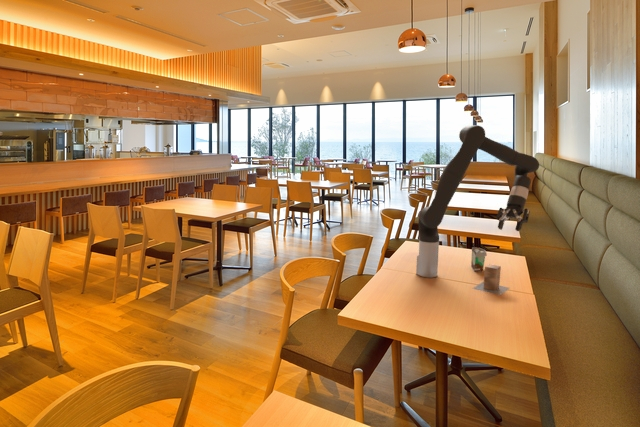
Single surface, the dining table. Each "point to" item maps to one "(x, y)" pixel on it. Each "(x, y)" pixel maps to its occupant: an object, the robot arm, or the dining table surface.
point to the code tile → (498, 291)
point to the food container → (478, 259)
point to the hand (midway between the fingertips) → (508, 229)
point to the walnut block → (492, 277)
